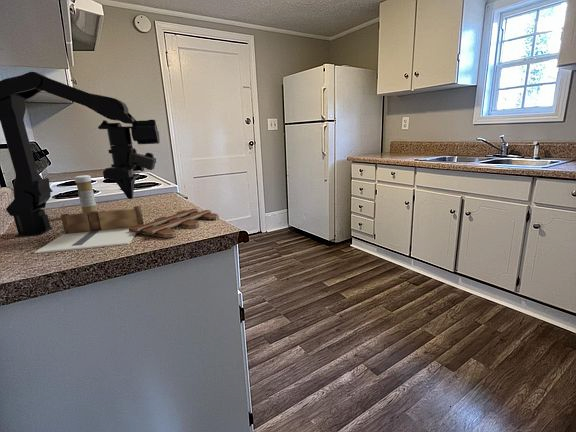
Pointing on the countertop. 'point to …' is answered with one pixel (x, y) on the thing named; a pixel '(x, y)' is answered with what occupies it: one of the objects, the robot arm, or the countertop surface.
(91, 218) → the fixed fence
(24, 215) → the robot arm
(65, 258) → the countertop surface
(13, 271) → the countertop surface
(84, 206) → the sprinkles bottle
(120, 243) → the card
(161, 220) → the decorative fence
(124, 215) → the gate panel
